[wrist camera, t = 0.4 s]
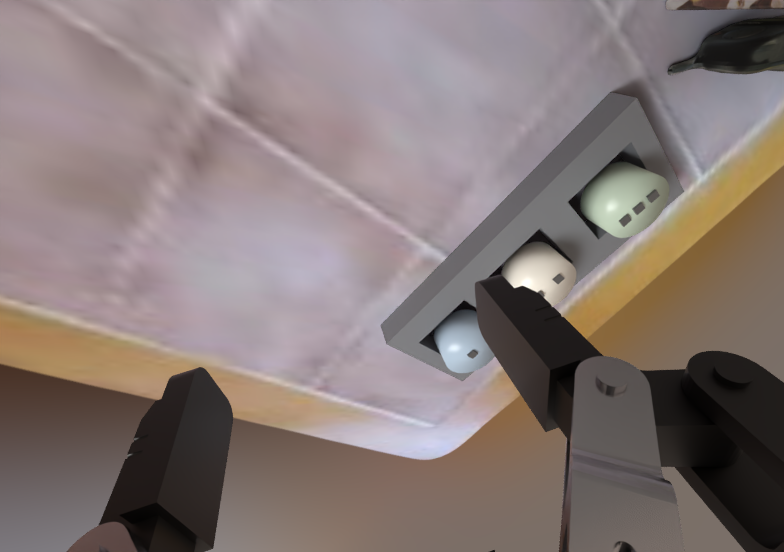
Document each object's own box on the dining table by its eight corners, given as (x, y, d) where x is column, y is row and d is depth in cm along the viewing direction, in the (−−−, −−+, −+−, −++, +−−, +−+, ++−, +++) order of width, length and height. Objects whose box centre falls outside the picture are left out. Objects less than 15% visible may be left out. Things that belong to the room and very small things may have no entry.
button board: (453, 363, 40) (462, 381, 38) (380, 325, 34) (386, 344, 32) (659, 181, 32) (684, 191, 30) (610, 92, 27) (637, 97, 25)
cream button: (521, 298, 34) (540, 320, 31) (490, 273, 31) (509, 296, 29) (564, 260, 32) (588, 280, 30) (535, 231, 30) (559, 250, 27)
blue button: (456, 355, 36) (469, 381, 34) (423, 337, 34) (434, 363, 31) (493, 322, 35) (510, 346, 32) (461, 301, 32) (476, 325, 30)
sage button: (596, 231, 31) (624, 250, 29) (569, 198, 29) (597, 216, 26) (646, 186, 30) (680, 202, 27) (623, 147, 27) (658, 161, 25)
